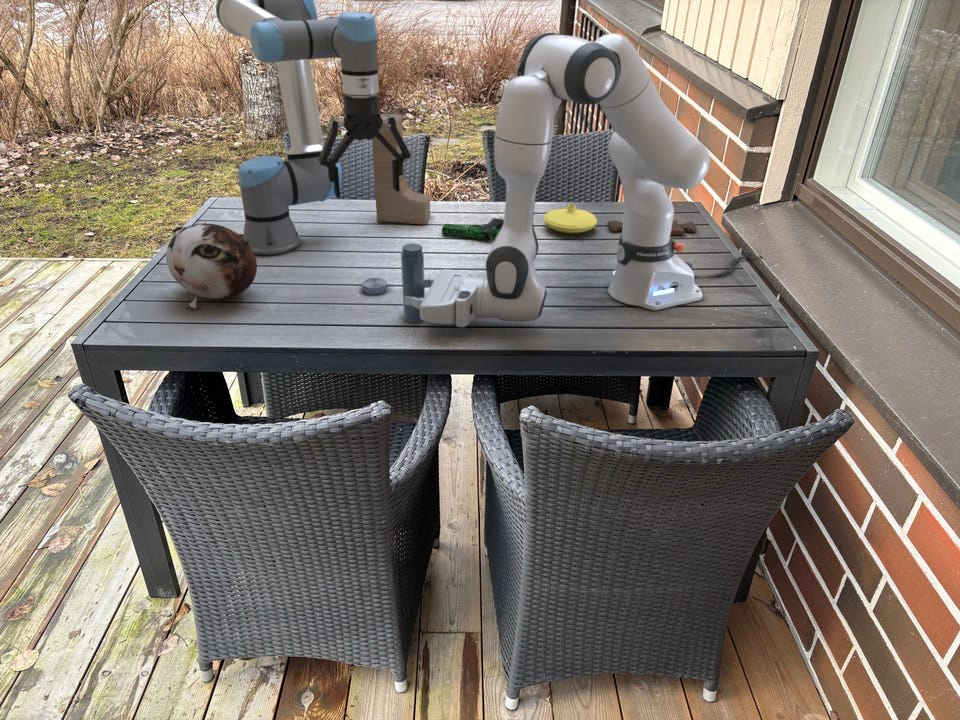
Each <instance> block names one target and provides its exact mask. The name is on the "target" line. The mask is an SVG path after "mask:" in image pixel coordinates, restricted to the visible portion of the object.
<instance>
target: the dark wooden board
mask: <svg viewBox="0 0 960 720" xmlns="http://www.w3.org/2000/svg"><path fill="white" fill-rule="evenodd" d="M607 224H608V229H609V231H610V232H613V233H615V232H616V233H617V232H622V228H623V221H622V222H621V221H619V220H615V219H614V220H608V221H607ZM682 228H683V229H682ZM688 229H689V230H688ZM693 230H696V231H697V228H696V224H695V223H694V222H691V221H690V222H683V223H682V222H681V223H679V221H678V220H674V219H673V222H672V229H671V235H685V233H686V232H687V233H696V231H693Z"/></svg>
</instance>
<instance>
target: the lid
mask: <svg viewBox="0 0 960 720" xmlns="http://www.w3.org/2000/svg"><path fill="white" fill-rule="evenodd" d="M361 284H362V285H361V287H362V291H363V293H365V294H367V295H370V296H371V295H373V296H375V295H376V296H377V295H381V294H384V293H386V292H387V290H388V284H387V281H386V280H385V279H384V278H381V277H371V278H370V277H369V278H367V279H365V280H363V281H362V282H361Z"/></svg>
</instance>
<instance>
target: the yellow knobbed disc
mask: <svg viewBox="0 0 960 720" xmlns="http://www.w3.org/2000/svg"><path fill="white" fill-rule="evenodd" d="M543 222H544V225H545V226H546V227H548V228H550V229H551V230H554V231H556V232H559V233H564V234H580V233H584V232H585V233H586V232H587V231H591V230H592V229H594V228H596V226H597V223H598V219H597V217H596V215H595V214H593V213H591V212H589V211H587V210H584V209H578V208H576V205H575V204H571V203H570V204H567V208H557V209H552V210H549V211H548V212H547V213H545V214H544V216H543Z"/></svg>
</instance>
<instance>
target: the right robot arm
mask: <svg viewBox="0 0 960 720" xmlns="http://www.w3.org/2000/svg"><path fill="white" fill-rule="evenodd" d="M516 73H517V76H516V77H514V78H512V79H510V80H509V81H508V82H507V84H506V85H505V86H504V89H503V93H502V96H501V100H500V104H499V107H498V112H497V116H496V117H497V118H496V124H495V130H494V131H495V133H494V143H493V145H494V146H493V151H494V153H493V154H494V155H493V156H494V165H495V166H494V167H495V170H496V172H497V174H498V175H499V177H501V178H502V179H503V180H504V182H505V188H506V192H505V204H504V206H505V207H504V217H503V220H504V222H503V225H502V227H501V228H500V230H499V231H498V233H497V235H496V237H495V238H494V239H493V242H492V244H491V245H492V246H491V248H490V250H489V252H488V254H487V256H486V259H485V272H486V277H479V276H478V277H477V276H474V275H470V274H469V272H466V271H463V270H456V269H451V268H450V269H448V268H444V269H440V270H439V271H438V272H437V274H436V276H435V277H428V278H424V283H425V289H427V288H428V291H426V293H425V297H424V298H415V297H414V296H413V295H406V296H405V298H404V304H405V305H412V306H414V307H416V308H418V309H420V318H421V319H422V320H423V321H422V322H426V323H431V324H439V325H453V324H455V326H456V327H457V328H465V327H466V326H468V325H470V324H471V323H472V322H473V321H475V320H477V319H490V318H491V319H497V320H500V321H503V322H504V321H505V322H533V321H536V320H537V319H539V318H540V317H541V315H542V312H543V309H544V305H545V301H546V298H547V291H548V290H547V287H546V286H545V285H544V284H543V282H542V281H541V279H540V277H539V275H538V272H537V270H536V268H535V267H536V266H535V264H534V262H535V260H536V258H537V256H538V253H539V240H538V236H537V234H536V230H535V227H534V215H535V206H536V197H537V196H536V195H537V189H538V186H539V184H540V182H541V180H542V179H543V177H544V175H545V171H546V170H547V166H548V163H549V159H550V155H551V151H552V143H553V136H554V127H555V126H554V122H555V117H556V113H557V112H558V109H559V107H560V105H561V104H562V103H563V101H562V100H565V101H568V102H569V101H570V102H573V103H576V104H577V105H584V106H585V105H586V106H590V105H596V104H599V105H600V107H601V110H602V111H603V113H604V115H605V117H606V119H607V121H608V123H609V124H610V126H611V128H612V130H613V133H612V135H611V136H610V139H609V142H608V149H607V151H608V157H609V158H610V161H611V162H612V163H613V165H614V167H615V168H616V171H617V173H618V177H619V181H620V184H621V188H622V193H623V194H622V195H623V201H624V202H623V217H622V223H623V228H622V231H621V234H620V236H619V238H618V239H619V240H618V245H617V254H616V255H617V257H616V259H617V262H616V264H615V265H616V266H615V269H614V271H613V274H612V275H613V276H612V279H611V281H610V284H609V286H608V289H607V293H608V294H609V296H611V297H612V299H615V301H618V302H620V303H623V304H626V305H631V306H636V307H640V308H641V307H642V308H644V309H646V310H650V311H659V310H663V309H667V308H671V307H677V306H680V305H686V304H689V303H694V302H697V301H702V300H703V292H702V289H701V288H700V287H699V286H698V285H697V284H696V283H695V279H716V278H720V277H724V276H726V275H729V274H731V273H732V272H733V271H734V268H735V264H736V263H738V262H739V261H742V260H744V259H746V258H748V257H752V256H754V255H753V254H752V253H753V252H750V253H747V254H744V255H742V256H743V257H741V256H739V257H737V258H735V259H734V260H733V261H732V262H731V265H730V269H728V270H726V271H723V272H720V273H717V274H714V275H709V276H697V275H695V273H694V271H693V264H692V263H690V262H688V261H685V260H683V259H682V258H680V257H679V256H678V255H677V254H676V253H678V254H681V253H683V251H684V250H685V245H684V244H683V243H681V242H680V241H677V242H676V240H674V239H673V238H671V235H672V234H671V229H672V222H673V220H674V215H675V208H674V204H673V202H672V201H671V199H670V197H669V196H668V194H667V192H666V189H665V187H666V188H671V189H679V190H680V189H681V190H690V189H693V188H695V187H697V186H698V185H699V184H701V182H702V181H703V180H704V179H705V177H706V175H707V174H708V171H709V169H710V162H711V158H710V157H711V156H710V152H709V150H708V148H707V147H706V146H705V145H704V144H703V143H701V142H700V141H698V140H697V139H696V138H695V137H694V136H693V135H692V134H691V133H690V132H689V131H688V130H687V129H686V128H685V127H684V126H683V125H682V123H681V122H680V121H679V119H678V118H677V117H676V116H675V115H674V113H672V112H671V110H670V109H669V108H668V107H667V105H666V104H665V102H664V101H663V99H662V97H661V95H660V93H659V91H658V88H657V87H656V85H655V83H654V81H653V79H652V76H651V74H650V72H649V70H648V68H647V66H646V64H645V62H644V60H643V59H642V57H641V56H640V54H639V53H638V50H637V49H636V48H635V47H634V44H632V43H631V42H630V40H629V39H628V38H627V37H626V36H625V35H623V34H620V33H616V32H613V33H606V34H604V35H602V36H600V37H598V38H596V39H595V40H594V41H593V42H592V41H590V40H587V39H585V38H582V37H579V36H574V35H566V34H558V33H557V32H544V33H541V34H540V33H539V34H538V35H535V36H534V37H532V38H531V39H530V40H529V41H528V42H527V44H526V46H524V49H523V51H522V54H521V57H520V61H519V65H518V66H517V71H516ZM675 252H676V253H675Z"/></svg>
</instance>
